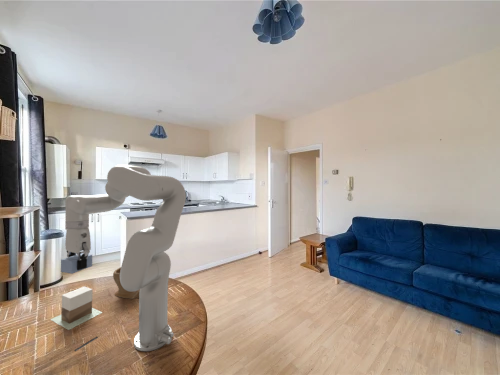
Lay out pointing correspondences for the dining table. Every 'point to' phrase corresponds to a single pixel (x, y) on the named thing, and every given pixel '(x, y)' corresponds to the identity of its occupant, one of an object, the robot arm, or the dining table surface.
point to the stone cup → (122, 291)
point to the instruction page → (85, 344)
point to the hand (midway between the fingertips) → (77, 266)
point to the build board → (77, 322)
